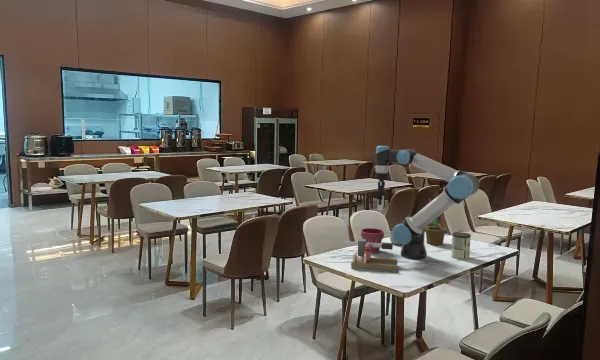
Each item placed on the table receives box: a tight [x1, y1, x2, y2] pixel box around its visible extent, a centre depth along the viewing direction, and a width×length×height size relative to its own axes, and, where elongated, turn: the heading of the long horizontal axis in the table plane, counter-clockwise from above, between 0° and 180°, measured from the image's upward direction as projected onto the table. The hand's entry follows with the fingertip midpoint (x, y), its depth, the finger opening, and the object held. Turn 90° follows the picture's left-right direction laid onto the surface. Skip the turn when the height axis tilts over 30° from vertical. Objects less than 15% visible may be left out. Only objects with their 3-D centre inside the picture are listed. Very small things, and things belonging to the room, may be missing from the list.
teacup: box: [389, 230, 402, 245], centre depth 297 cm, size 14×11×8 cm
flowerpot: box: [425, 198, 448, 247], centre depth 295 cm, size 14×14×30 cm
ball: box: [356, 255, 363, 263], centre depth 246 cm, size 4×4×4 cm
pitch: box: [350, 238, 398, 273], centre depth 246 cm, size 24×17×12 cm
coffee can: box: [450, 231, 472, 261], centre depth 264 cm, size 10×10×14 cm
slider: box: [342, 240, 394, 263], centre depth 249 cm, size 28×13×10 cm, turn 76°
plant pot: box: [360, 227, 385, 254], centre depth 277 cm, size 14×14×13 cm
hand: (380, 208), depth 263 cm, fingers open, 13 cm apart
